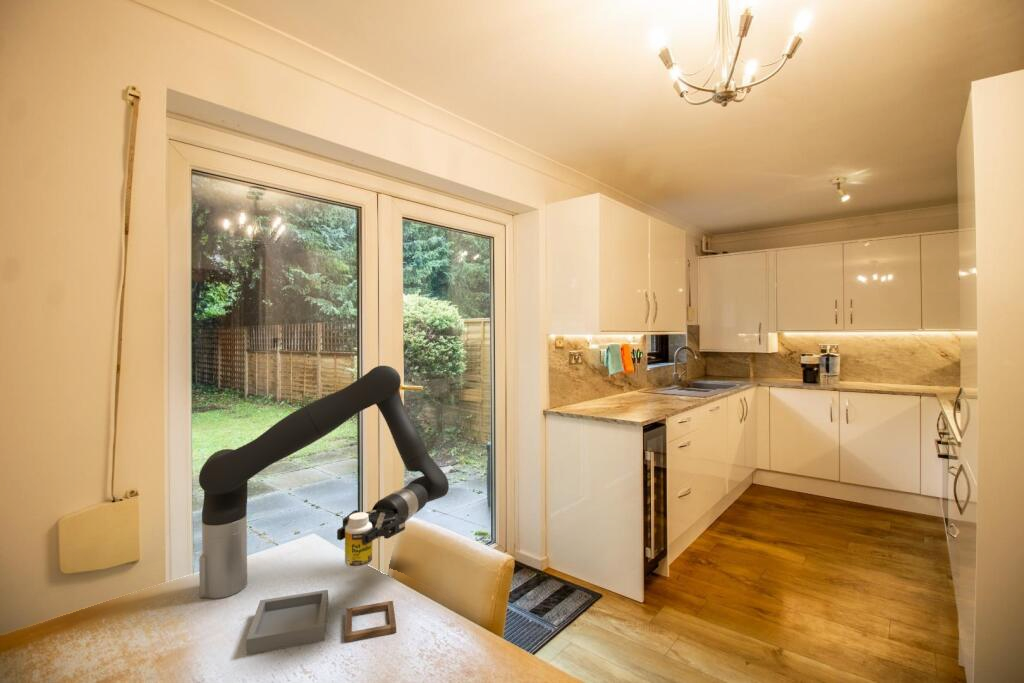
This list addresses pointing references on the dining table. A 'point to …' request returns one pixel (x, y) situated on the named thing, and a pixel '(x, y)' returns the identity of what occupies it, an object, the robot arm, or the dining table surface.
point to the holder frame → (373, 631)
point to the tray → (288, 622)
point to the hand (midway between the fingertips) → (351, 537)
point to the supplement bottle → (357, 541)
